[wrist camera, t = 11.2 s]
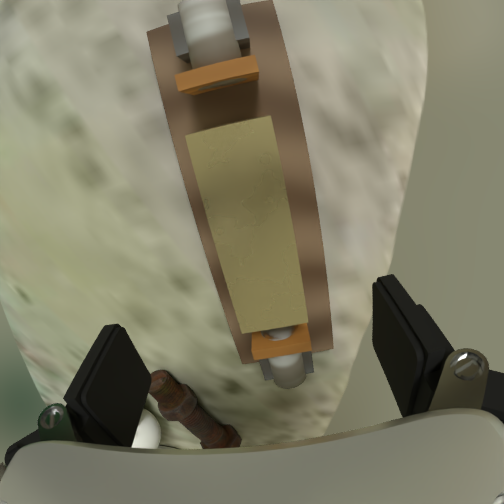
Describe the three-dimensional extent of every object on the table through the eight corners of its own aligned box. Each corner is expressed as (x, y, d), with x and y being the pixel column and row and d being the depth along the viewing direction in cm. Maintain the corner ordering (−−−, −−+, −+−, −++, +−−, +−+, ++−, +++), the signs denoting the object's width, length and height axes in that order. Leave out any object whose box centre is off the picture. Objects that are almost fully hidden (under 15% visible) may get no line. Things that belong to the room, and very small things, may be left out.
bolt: (166, 353, 34) (230, 422, 39) (133, 376, 32) (203, 441, 37) (176, 378, 28) (247, 447, 33) (138, 404, 27) (216, 468, 32)
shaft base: (330, 338, 30) (343, 384, 24) (242, 353, 31) (240, 401, 25) (271, 6, 17) (276, -27, 11) (152, 36, 18) (120, 15, 12)
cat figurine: (80, 429, 24) (128, 479, 29) (166, 395, 29) (198, 451, 33) (73, 380, 31) (113, 435, 36) (145, 352, 36) (174, 410, 41)
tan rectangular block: (267, 115, 19) (270, 115, 14) (299, 280, 25) (308, 322, 20) (202, 129, 20) (184, 135, 15) (244, 289, 25) (241, 333, 20)
